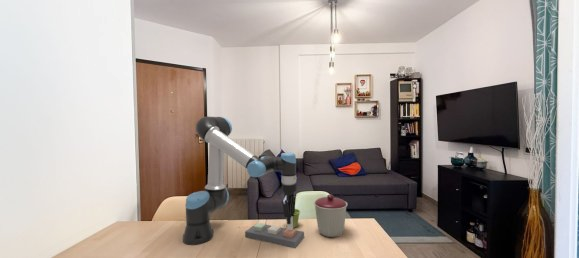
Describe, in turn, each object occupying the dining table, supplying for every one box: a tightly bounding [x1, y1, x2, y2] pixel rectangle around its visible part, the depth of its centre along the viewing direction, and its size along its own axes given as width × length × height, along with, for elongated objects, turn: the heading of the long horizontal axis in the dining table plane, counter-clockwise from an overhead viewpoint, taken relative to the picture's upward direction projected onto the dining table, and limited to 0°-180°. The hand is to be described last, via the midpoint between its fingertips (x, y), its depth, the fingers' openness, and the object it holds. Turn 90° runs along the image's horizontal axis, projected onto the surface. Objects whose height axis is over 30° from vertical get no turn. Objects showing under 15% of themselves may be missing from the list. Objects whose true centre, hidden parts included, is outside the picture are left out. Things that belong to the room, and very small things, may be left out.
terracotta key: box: [283, 228, 297, 238], centre depth 121 cm, size 5×5×3 cm
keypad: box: [244, 223, 305, 249], centre depth 125 cm, size 29×12×3 cm, turn 65°
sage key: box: [252, 222, 267, 232], centre depth 129 cm, size 5×5×3 cm
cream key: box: [268, 225, 282, 235], centre depth 125 cm, size 5×5×3 cm
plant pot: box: [285, 208, 301, 229], centre depth 139 cm, size 9×9×9 cm
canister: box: [313, 194, 348, 238], centre depth 129 cm, size 18×18×21 cm
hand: (290, 229), depth 121 cm, fingers closed
